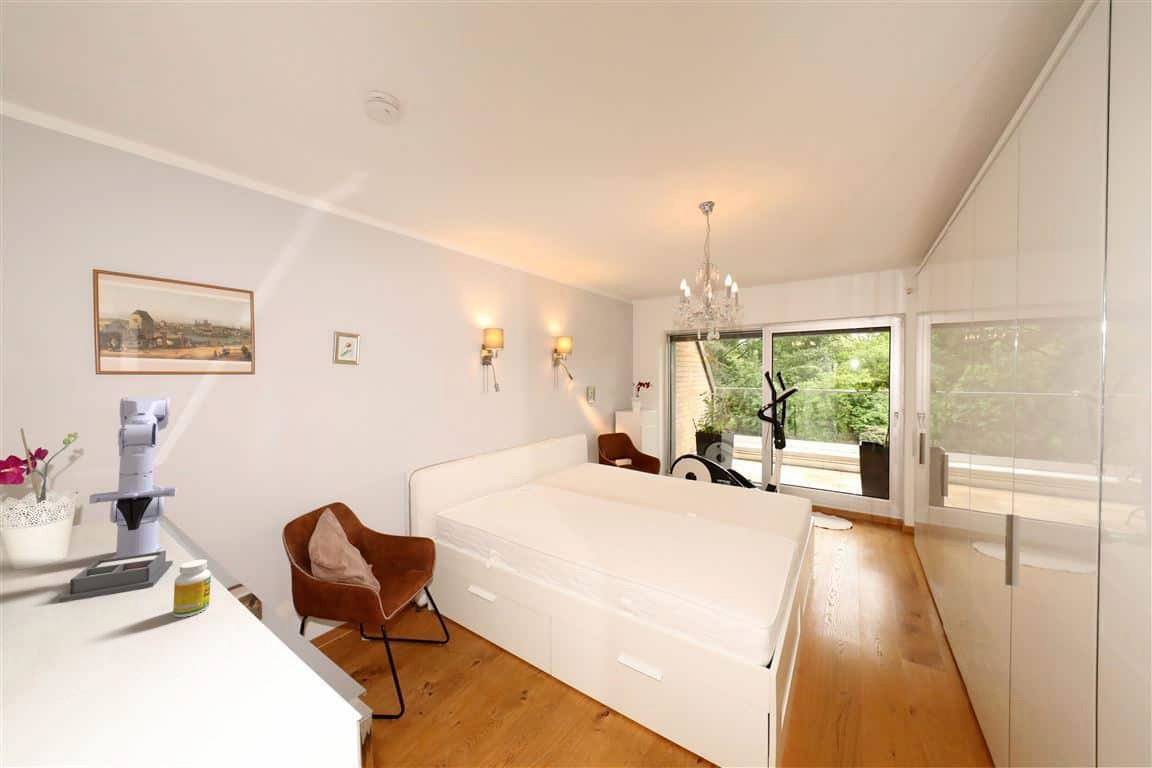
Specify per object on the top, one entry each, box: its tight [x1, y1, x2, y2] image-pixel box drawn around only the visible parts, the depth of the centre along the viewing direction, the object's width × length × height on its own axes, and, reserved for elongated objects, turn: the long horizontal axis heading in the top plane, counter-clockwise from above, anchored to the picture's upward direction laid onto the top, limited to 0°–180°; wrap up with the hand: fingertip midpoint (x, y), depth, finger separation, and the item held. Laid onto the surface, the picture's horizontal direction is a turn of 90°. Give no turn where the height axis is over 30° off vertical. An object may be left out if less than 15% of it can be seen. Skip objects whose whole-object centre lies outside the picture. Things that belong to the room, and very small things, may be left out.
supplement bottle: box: [172, 559, 212, 618], centre depth 82 cm, size 5×5×10 cm
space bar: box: [97, 555, 158, 567], centre depth 96 cm, size 4×10×2 cm, turn 122°
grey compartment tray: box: [58, 550, 173, 603], centre depth 93 cm, size 14×14×4 cm
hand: (133, 529), depth 98 cm, fingers closed
